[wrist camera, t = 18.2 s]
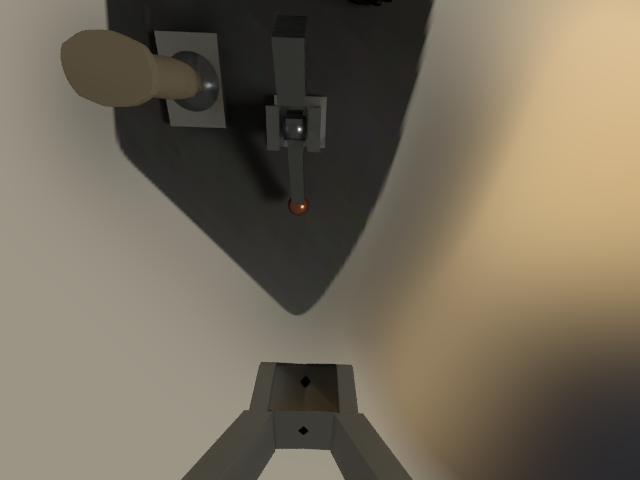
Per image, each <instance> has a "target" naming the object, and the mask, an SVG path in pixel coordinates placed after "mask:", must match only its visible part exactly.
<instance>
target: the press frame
mask: <svg viewBox="0 0 640 480" xmlns="http://www.w3.org/2000/svg"><path fill="white" fill-rule="evenodd" d="M154 34H155V39H156V45H157V51H158V55H163V56H168V57H171V58H175V59H177V60H180V61H182V62H184V63H186V64H188V65H189V66H190V67H192V68H193V69H194V70H195V71H198V72H199V73H200V74H201V76H202V77H201V82H202V85H203V90H200V91H198V92H197V93H196V95H195V96H194V97H190V98H185V99H174V100H170V99H166V102H167V107H168V113H169V119H170V124H171V126H185V127H211V128H228V127H229V120H228V109H227V98H226V88H225V77H224V67H223V56H222V45H221V36H220V35H218V34H217V33H195V32H171V31H154ZM326 99H327V97H312V96H306V104H305V107H303V106H278V103H277V95H274V105H269V106H266V126H267V150H278V151H280V149H281V148H282V147H283V146H284V147H288V146H287V140H284V138H283V116H284V115H286V112H287V110H303V116H306V141H304V147H308V152H320V148H325V124H326Z"/></svg>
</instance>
